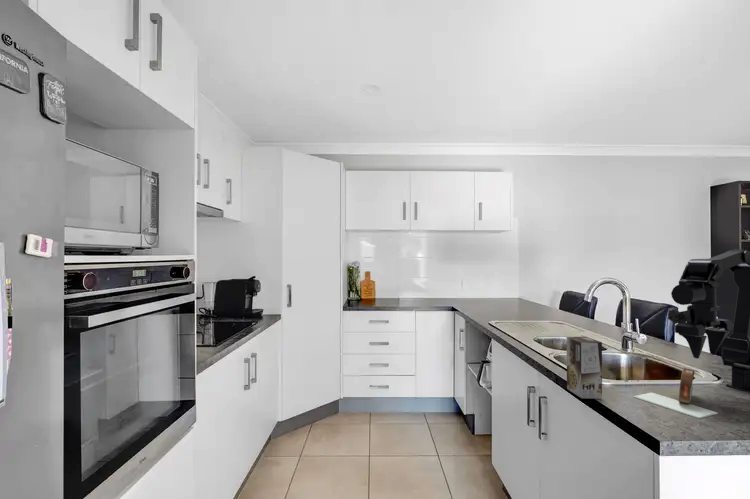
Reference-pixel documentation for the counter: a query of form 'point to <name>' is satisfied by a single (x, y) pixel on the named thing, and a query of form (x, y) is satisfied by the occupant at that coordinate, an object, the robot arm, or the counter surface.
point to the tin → (686, 386)
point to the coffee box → (584, 367)
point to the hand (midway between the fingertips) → (704, 356)
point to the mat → (676, 405)
